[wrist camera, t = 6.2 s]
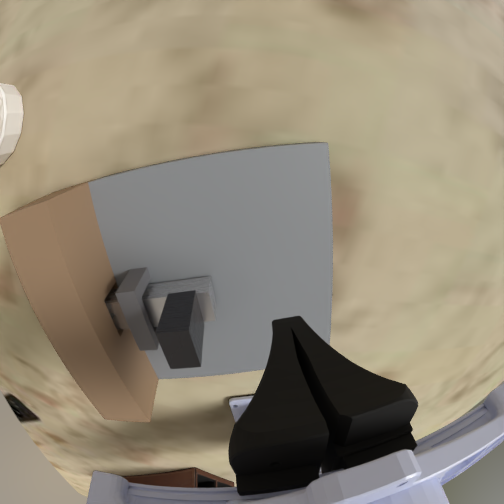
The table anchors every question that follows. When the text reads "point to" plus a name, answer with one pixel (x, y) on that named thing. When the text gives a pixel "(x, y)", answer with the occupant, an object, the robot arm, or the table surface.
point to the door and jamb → (178, 263)
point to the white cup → (9, 119)
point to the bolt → (175, 317)
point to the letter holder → (182, 479)
